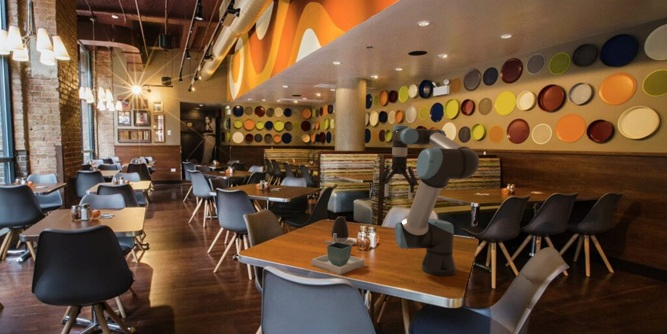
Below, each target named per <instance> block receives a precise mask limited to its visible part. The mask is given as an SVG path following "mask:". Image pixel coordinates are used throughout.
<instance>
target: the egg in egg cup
mask: <svg viewBox="0 0 667 334" xmlns="http://www.w3.org/2000/svg"><path fill="white" fill-rule="evenodd" d="M334 233H336V234H337V240H338V242H344V243H346V242H347V240H348V239H349V235H350V234H349V233H350V232H349V227H348V222H347V221H346V216H343V215H342V216H341V215H340V216H337V217H336V218H335V220H334V222H333V225H332V230H331V235H330V236H331V238H332V240H333V234H334ZM345 241H346V242H345Z"/></svg>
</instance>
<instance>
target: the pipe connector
mask: <svg viewBox="0 0 667 334" xmlns="http://www.w3.org/2000/svg"><path fill="white" fill-rule="evenodd" d="M336 242H338V240H337V234H336V233H334V234H333V239H332V240H325V241H324V244H325V245H330V244H333V243H336ZM339 243H344V244H345V242H339Z"/></svg>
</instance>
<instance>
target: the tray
mask: <svg viewBox="0 0 667 334" xmlns="http://www.w3.org/2000/svg"><path fill="white" fill-rule="evenodd" d="M311 266H312V267H315V268H318V269H321V270H324V271H327V272H330V273H333V274H336V275H340V276H341V275H344V274H346V273H349V272H351V271H354V270H357V269H359V268H362V267H365V259H364V258H360V257H356V256H353V255H350V258H349V260H348V262H347V263H346V264H344V265H342V266H337V265H333V264H331V262H330V260H329V258H328V253H327V254H324V255H320V256H318V257H313V258H311Z"/></svg>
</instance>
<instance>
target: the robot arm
mask: <svg viewBox="0 0 667 334" xmlns="http://www.w3.org/2000/svg"><path fill="white" fill-rule="evenodd" d="M408 145H422V146H430V147H427V148H424V149H423V150H421V152H420V153H419V155H418V156H417V160H416V167H415V169H416V170H415V171H416V174H417V176H418V178H419V179H418V180H419V181H420V182H418V180H417V177H416V176H415V173H414V169H413V166H412V165H410V166H407V164H408V157H407V156H408V147H409V146H408ZM391 149H392V151H391V154H392V156H391V165H390V164H386V167H385V170H384V171H383V174H382V177H381V179H380V183H382V184H383V190H384V197H385V198H386V197H389V193H390V191H389V189H390V188H389V187H390V183H389V182H390V181H391V180H392V178H393V177H394V176H395V175H402V176H403V178H405V180H406V181H407V183H408V184H409V186H408V191H407V192H408V193H407V194H408V196H407V199H408V200H412V199H413V202H412V204H411V206H410V210H409V212H408V214H407V215H405V216H404V217H403V219H402V221H401V222H400V221H399V222H396V223H395V226H394V235H395V241H396V244H397V247H399V249H403V250H405V249H406V250H411V249H413V250H415V249H416V250H417V249H418V250H419V249H426V250H425V251H426V252H425V255H424V258H423V260H422V263H421V270H422V271H423V272H424V273H427V274H430V275H433V276H439V277H449V276H450V277H451V276H454V275H456V273H457V266H456V262H455V259H454V256H453V254H454V253H453V252H454V235H455V232H454V227H455V226H454V224H452V223H451V222H449V221H446V220H444V219H443V220H442V219H437V218H430V217H431V214H432V212H433V210H434V208H435V205H436V204H437V203H436V202H437V200H438V198H439V195H440V193H441V191H442V189H444V188H446V187H447V186H448V185H449V182H450V180H464V179H469V178H470V177H472V176H474V175H475V173H477V171H478V170H479V167H480V158H479V155H478V153H477V152H476V151H475V150H473V149H472V148H470V147H469V146H464V145H463V146H462V145H461V144H459V143H458V142H456V141H454V140H453V139H451V138H449V137H448V136H447V134H446V133H445V130H443V129H437V128H435V129H432V128H431V129H428V128H427V129H425V128H412V127H409V126H408V125H405V124H403V125H402V124H401V125H399V124H398V125H394V126H393V129H392V148H391ZM391 170H392V171H391ZM408 173H409V174H408ZM416 186H418V187H417V190H416V193H415V196H414V198H413V193H414V192H415V187H416Z"/></svg>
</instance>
